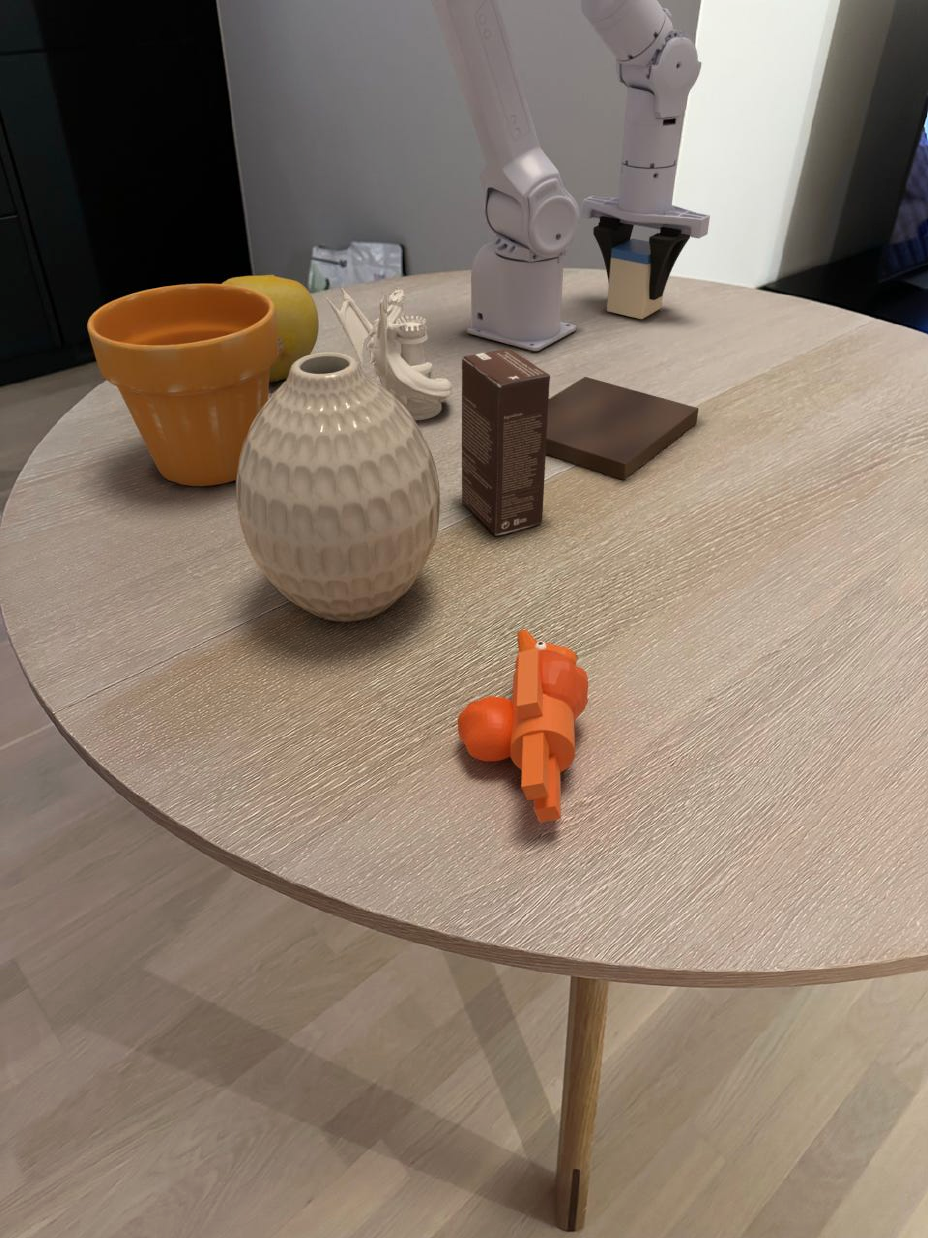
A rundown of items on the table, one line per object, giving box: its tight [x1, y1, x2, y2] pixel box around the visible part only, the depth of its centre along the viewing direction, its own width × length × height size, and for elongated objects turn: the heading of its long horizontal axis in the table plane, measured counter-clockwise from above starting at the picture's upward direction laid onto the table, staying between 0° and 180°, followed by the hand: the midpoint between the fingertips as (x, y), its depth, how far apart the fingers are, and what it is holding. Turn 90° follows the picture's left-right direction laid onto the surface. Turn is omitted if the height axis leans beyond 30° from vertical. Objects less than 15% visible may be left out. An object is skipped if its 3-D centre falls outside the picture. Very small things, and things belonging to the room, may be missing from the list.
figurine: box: [325, 286, 453, 421], centre depth 84 cm, size 11×8×12 cm
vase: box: [235, 351, 441, 623], centre depth 59 cm, size 13×13×17 cm
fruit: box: [221, 274, 320, 383], centre depth 92 cm, size 10×11×10 cm
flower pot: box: [86, 283, 279, 487], centre depth 76 cm, size 14×14×13 cm
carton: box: [606, 238, 664, 320], centre depth 105 cm, size 5×5×7 cm
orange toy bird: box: [457, 629, 589, 824], centre depth 51 cm, size 5×8×12 cm
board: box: [546, 376, 699, 481], centre depth 83 cm, size 12×13×2 cm
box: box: [461, 348, 551, 536], centre depth 69 cm, size 6×4×12 cm
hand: (636, 292), depth 106 cm, fingers closed on carton, 4 cm apart
